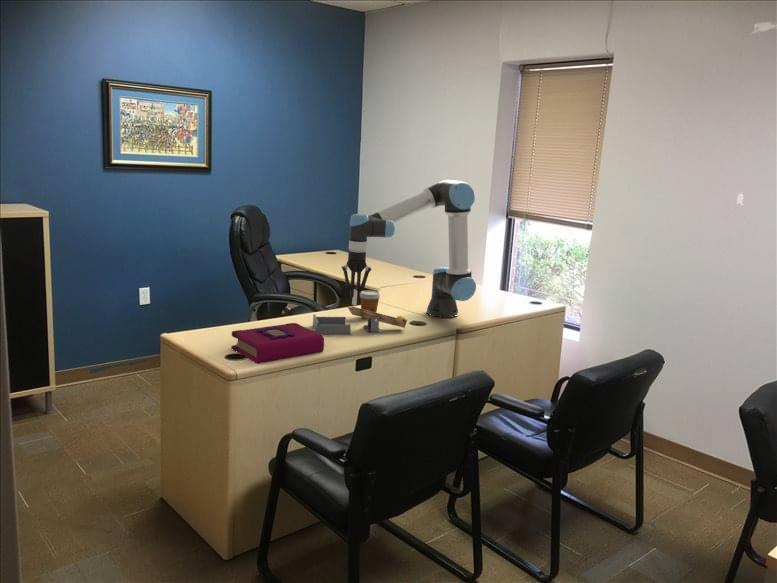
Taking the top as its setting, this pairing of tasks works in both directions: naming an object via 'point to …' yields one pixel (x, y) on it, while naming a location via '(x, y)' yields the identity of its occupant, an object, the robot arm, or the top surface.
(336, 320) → the tray
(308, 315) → the top surface
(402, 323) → the lever
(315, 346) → the book
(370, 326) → the fulcrum
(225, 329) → the top surface
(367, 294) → the disposable coffee cup
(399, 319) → the ball
